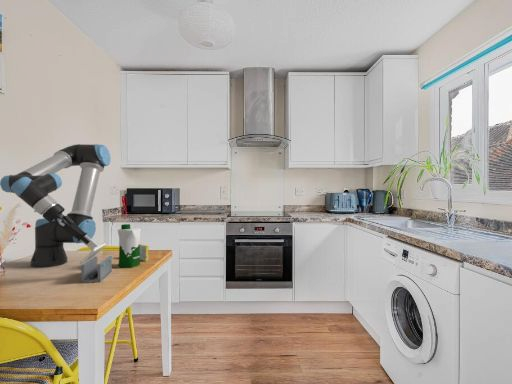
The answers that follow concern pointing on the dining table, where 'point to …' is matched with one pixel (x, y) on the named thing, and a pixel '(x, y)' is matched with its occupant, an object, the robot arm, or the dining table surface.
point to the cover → (93, 253)
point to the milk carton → (129, 246)
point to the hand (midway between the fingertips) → (95, 247)
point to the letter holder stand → (95, 270)
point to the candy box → (144, 252)
